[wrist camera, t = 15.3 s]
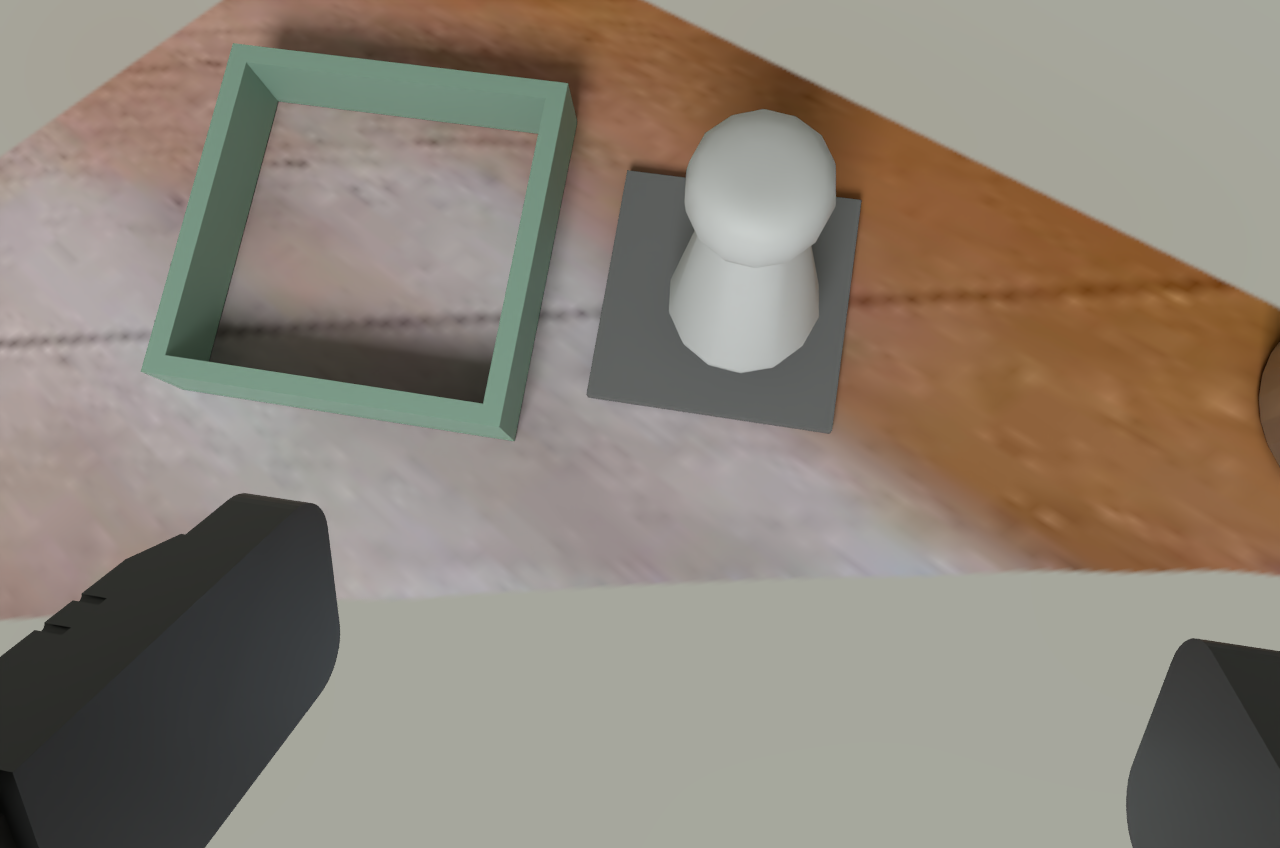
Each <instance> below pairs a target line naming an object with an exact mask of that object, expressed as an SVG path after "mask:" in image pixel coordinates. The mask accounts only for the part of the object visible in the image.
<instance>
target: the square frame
mask: <svg viewBox="0 0 1280 848" xmlns="http://www.w3.org/2000/svg"><path fill="white" fill-rule="evenodd" d="M278 101H280V102H288V103H296V104H304V105H312V106H320V107H328V108H336V109H344V110H352V111H360V112H368V113H376V114H384V115H392V116H400V117H408V118H416V119H424V120H432V121H440V122H448V123H456V124H464V125H473V126H481V127H489V128H497V129H505V130H513V131H521V132H529V133H537V134H538V138H537V142H536V147H535V152H534V157H533V162H532V167H531V172H530V177H529V181H528V186H527V191H526V196H525V201H524V206H523V211H522V216H521V221H520V225H519V230H518V235H517V240H516V245H515V250H514V255H513V260H512V264H511V269H510V274H509V279H508V284H507V289H506V294H505V299H504V304H503V308H502V313H501V318H500V323H499V328H498V333H497V338H496V343H495V347H494V352H493V357H492V362H491V367H490V372H489V377H488V382H487V387H486V391H485V396H484V401H483V404H482V403H475V402H469V401H462V400H456V399H449V398H443V397H436V396H430V395H423V394H416V393H410V392H403V391H397V390H390V389H384V388H377V387H371V386H364V385H358V384H351V383H344V382H338V381H331V380H325V379H318V378H312V377H305V376H299V375H292V374H286V373H279V372H272V371H266V370H259V369H253V368H246V367H240V366H233V365H227V364H220V363H214V362H209V359H210V355H211V351H212V348H213V344H214V340H215V336H216V333H217V329H218V325H219V321H220V318H221V314H222V310H223V306H224V303H225V299H226V295H227V291H228V288H229V284H230V280H231V276H232V273H233V269H234V265H235V261H236V258H237V254H238V250H239V246H240V243H241V239H242V235H243V231H244V228H245V224H246V220H247V216H248V213H249V209H250V205H251V201H252V198H253V194H254V190H255V186H256V183H257V179H258V175H259V171H260V168H261V164H262V160H263V156H264V153H265V149H266V145H267V141H268V138H269V134H270V130H271V126H272V123H273V119H274V115H275V111H276V108H277V104H278ZM576 126H577V119H576V114H575V110H574V106H573V102H572V98H571V93H570V89H569V85H568V83H562V82H554V81H545V80H537V79H528V78H520V77H511V76H503V75H495V74H486V73H478V72H469V71H461V70H453V69H444V68H436V67H427V66H419V65H411V64H402V63H394V62H385V61H377V60H369V59H360V58H352V57H343V56H335V55H327V54H318V53H310V52H301V51H293V50H284V49H276V48H268V47H259V46H251V45H242V44H234V43H233V45H232V49H231V52H230V56H229V59H228V63H227V67H226V70H225V74H224V77H223V81H222V84H221V88H220V92H219V95H218V99H217V102H216V106H215V109H214V113H213V116H212V120H211V124H210V127H209V131H208V134H207V138H206V141H205V145H204V148H203V152H202V156H201V159H200V163H199V166H198V170H197V173H196V177H195V181H194V184H193V188H192V191H191V195H190V198H189V202H188V205H187V209H186V213H185V216H184V220H183V223H182V227H181V230H180V234H179V237H178V241H177V245H176V248H175V252H174V255H173V259H172V262H171V266H170V269H169V273H168V277H167V280H166V284H165V287H164V291H163V294H162V298H161V302H160V305H159V309H158V312H157V316H156V319H155V323H154V326H153V330H152V334H151V337H150V341H149V344H148V348H147V351H146V355H145V358H144V362H143V366H142V369H141V372H143V373H146V374H148V375H150V376H153V377H155V378H157V379H160V380H162V381H164V382H167V383H169V384H171V385H174V386H176V387H178V388H181V389H183V390H189V391H196V392H202V393H209V394H215V395H222V396H228V397H234V398H241V399H247V400H254V401H260V402H266V403H273V404H279V405H286V406H292V407H298V408H305V409H311V410H318V411H324V412H330V413H337V414H343V415H350V416H356V417H362V418H369V419H375V420H382V421H388V422H394V423H401V424H407V425H414V426H420V427H426V428H433V429H439V430H446V431H452V432H458V433H465V434H471V435H478V436H484V437H490V438H497V439H503V440H510V441H515V436H516V431H517V426H518V421H519V416H520V411H521V406H522V401H523V396H524V391H525V385H526V380H527V375H528V370H529V365H530V360H531V355H532V350H533V345H534V340H535V334H536V329H537V324H538V319H539V314H540V309H541V304H542V299H543V294H544V289H545V284H546V278H547V273H548V268H549V263H550V258H551V253H552V248H553V243H554V238H555V233H556V228H557V222H558V217H559V212H560V207H561V202H562V197H563V192H564V187H565V182H566V177H567V172H568V166H569V161H570V156H571V151H572V146H573V141H574V136H575V131H576Z"/></svg>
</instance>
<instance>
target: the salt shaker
mask: <svg viewBox="0 0 1280 848" xmlns="http://www.w3.org/2000/svg"><path fill="white" fill-rule="evenodd" d="M684 202H685V210H686V213H687V215H688V217H689V219H690V221H691V224H692V226H693V228H694V230H695V231H694V233H693V235H692V237H691V239H690V241H689V243H688V245H687V247H686V249H685V251H684V253H683V255H682V257H681V259H680V262H679V264H678V266H677V268H676V270H675V272H674V274H673V276H672V278H671V281H670V300H669V313H670V316H671V318H672V320H673V322H674V324H675V327H676V329H677V331H678V333H679V336H680V338H681V340H682V342H683V344H684V345H685V346H686V347H687V348H689V349H690V350H691V351H692V352H693V353H695V354H696V355H697V356H698V357H699V358H700V359H702V360H703V361H704V362H705V363H706V364H708V365H710V366H714V367H717V368H721V369H725V370H729V371H733V372H737V373H745V372H751V371H757V370H762V369H768V368H773V367H775V366H776V365H777V364H779V363H780V362H782V361H783V360H784V359H786V358H787V357H788V356H790V355H791V354H792V353H794V352H795V351H796V350H798V349H799V348H800V347H802V346H803V344H804V342H805V341H806V339H807V337H808V335H809V334H810V332H811V330H812V328H813V326H814V325H815V323H816V321H817V319H818V318H819V284H818V279H817V273H816V268H815V262H814V257H813V251H812V246H811V245H813V244H814V243H816V241H817V239H818V237H819V235H820V234H821V232H822V230H823V228H824V226H825V225H826V223H827V221H828V219H829V218H830V216H831V214H832V212H833V210H834V208H835V206H836V164H835V162H834V159H833V157H832V155H831V153H830V151H829V149H828V147H827V145H826V143H825V141H824V139H823V137H822V135H820V134H819V133H818V132H816V131H815V130H813V129H812V128H811V127H809V126H808V125H807V124H805V123H804V122H803V121H801V120H800V119H799V118H797V117H796V116H791V115H787V114H783V113H779V112H775V111H770V110H766V109H761V110H756V111H751V112H746V113H741V114H736V115H732V116H730V117H729V118H727V119H726V120H724V121H723V122H721V123H720V124H718V125H717V126H715V127H714V128H712V129H711V130H709V131H708V132H706V133H705V135H704V136H703V138H702V140H701V142H700V143H699V145H698V147H697V149H696V151H695V152H694V154H693V156H692V158H691V159H690V162H689V165H688V167H687V170H686V185H685V201H684Z"/></svg>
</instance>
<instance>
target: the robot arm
mask: <svg viewBox="0 0 1280 848" xmlns="http://www.w3.org/2000/svg"><path fill="white" fill-rule="evenodd" d="M1259 406H1260V419H1261V424H1262V427H1263V431H1264V434H1265V437H1266V440H1267V444H1268V446H1269V448H1270V450H1271V452H1272V454H1273V455H1274V457H1275V459H1276V461H1277V463H1278V465H1279V466H1280V342H1279V343H1278V345H1277V346H1276V347H1275V349H1274V350H1273V351H1272V353H1271V355H1270V357H1269V359H1268V362H1267V364H1266V367H1265V369H1264V372H1263V374H1262V380H1261V386H1260V393H1259ZM339 642H340V624H339V616H338V608H337V599H336V591H335V583H334V575H333V567H332V558H331V550H330V542H329V534H328V526H327V521H326V518H325V515H324V513H323V511H322V510H321V509H320V508H319V506H317V505H315V504H312V503H306V502H300V501H293V500H287V499H280V498H273V497H267V496H260V495H253V494H247V493H243V494H238V495H236V496H233V497H232V498H230V499H229V500H228V501H226V502H225V503H224V504H223V505H221V506H220V507H219V508H218V509H216V510H215V511H214V512H213V513H212V514H210V515H209V516H208V517H207V518H205V519H204V520H203V521H202V522H200V523H199V524H198V525H197V526H196V527H194V528H193V529H192V530H191V531H189V532H188V533H187V534H186V535H184V534H180V535H178V536H176V537H173V538H171V539H169V540H167V541H165V542H162V543H160V544H158V545H156V546H154V547H152V548H149V549H147V550H145V551H143V552H141V553H139V554H136V555H134V556H132V557H130V558H128V559H126V560H124V561H123V562H122V563H120V564H119V565H118V566H117V567H115V568H114V569H113V570H111V571H110V572H109V573H108V574H106V575H105V576H104V577H102V578H101V579H100V580H99V581H97V582H96V583H95V584H93V585H92V586H91V587H90V588H88V589H87V590H86V591H84V592H83V593H82V597H81V600H80V601H79V602H78V601H72V602H70V603H69V604H68V605H66V606H65V607H64V608H63V609H61V610H60V611H59V612H57V613H56V614H55V615H54V616H52V617H51V618H50V619H48V620H47V621H46V622H45V626H44V628H43V630H42V631H36V630H34V631H33V632H32V633H30V634H29V635H28V636H27V637H25V638H24V639H23V640H21V641H20V642H19V643H18V644H16V645H15V646H14V647H12V648H11V649H10V650H9V651H7V652H6V653H5V654H3V655H2V656H1V657H0V848H205V847H206V845H207V844H208V843H209V841H210V840H211V839H212V837H213V836H214V835H215V833H216V832H217V831H218V829H219V828H220V827H221V825H222V824H223V823H224V821H225V820H226V819H227V817H228V816H229V815H230V813H231V812H232V811H233V809H234V808H235V807H236V805H237V804H238V803H239V801H240V800H241V799H242V797H243V796H244V795H245V793H246V792H247V791H248V789H249V788H250V787H251V785H252V784H253V782H254V781H255V780H256V779H257V777H258V776H259V775H260V773H261V772H262V771H263V769H264V768H265V767H266V765H267V764H268V763H269V761H270V760H271V759H272V757H273V756H274V755H275V753H276V752H277V751H278V749H279V748H280V747H281V745H282V744H283V743H284V741H285V740H286V739H287V737H288V736H289V735H290V733H291V732H292V731H293V730H294V728H295V727H296V726H297V724H298V723H299V721H300V720H301V719H302V717H303V716H304V715H305V713H306V712H307V711H308V710H309V708H310V707H311V706H312V704H313V703H314V702H315V700H316V699H317V697H318V696H319V695H320V693H321V692H322V691H323V689H324V688H325V686H326V684H327V682H328V680H329V678H330V676H331V673H332V671H333V668H334V665H335V662H336V658H337V654H338V649H339ZM1126 808H1127V809H1126V811H1127V823H1128V830H1129V835H1130V839H1131V843H1132V846H1133V848H1280V651H1274V650H1267V649H1261V648H1254V647H1248V646H1241V645H1234V644H1228V643H1221V642H1215V641H1208V640H1201V639H1194V638H1193V639H1189V640H1187V641H1185V642H1184V643H1183V644H1182V645H1181V646H1180V647H1179V648H1178V650H1177V651H1176V653H1175V655H1174V657H1173V660H1172V662H1171V664H1170V667H1169V670H1168V672H1167V675H1166V678H1165V680H1164V683H1163V686H1162V688H1161V691H1160V694H1159V696H1158V699H1157V701H1156V704H1155V707H1154V709H1153V712H1152V714H1151V717H1150V720H1149V723H1148V725H1147V728H1146V730H1145V733H1144V735H1143V738H1142V741H1141V743H1140V746H1139V749H1138V751H1137V754H1136V756H1135V759H1134V762H1133V765H1132V767H1131V771H1130V775H1129V779H1128V786H1127V797H1126Z"/></svg>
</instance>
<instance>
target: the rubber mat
mask: <svg viewBox="0 0 1280 848" xmlns="http://www.w3.org/2000/svg"><path fill="white" fill-rule="evenodd" d="M685 185H686V178H684V177H676V176H668V175H660V174H652V173H644V172H637V171H629V170H627V175H626V181H625V186H624V192H623V197H622V203H621V208H620V214H619V219H618V225H617V230H616V236H615V241H614V247H613V252H612V257H611V263H610V268H609V274H608V279H607V285H606V290H605V296H604V301H603V307H602V312H601V318H600V323H599V329H598V334H597V340H596V345H595V350H594V356H593V361H592V367H591V372H590V378H589V383H588V389H587V396H588V397H589V398H596V399H602V400H609V401H616V402H622V403H629V404H636V405H642V406H649V407H656V408H662V409H669V410H676V411H682V412H689V413H695V414H702V415H709V416H715V417H722V418H729V419H735V420H742V421H749V422H755V423H762V424H769V425H775V426H782V427H788V428H795V429H802V430H808V431H815V432H822V433H828V434H830V433H831V431H832V425H833V418H834V410H835V402H836V394H837V387H838V379H839V371H840V363H841V355H842V348H843V340H844V332H845V324H846V316H847V309H848V301H849V293H850V285H851V278H852V270H853V262H854V254H855V246H856V239H857V231H858V223H859V215H860V207H861V200H857V199H849V198H841V197H836V206H835V208H834V210H833V212H832V214H831V216H830V218H829V219H828V221H827V223H826V225H825V226H824V228H823V230H822V232H821V234H820V235H819V237H818V239H817V241H816V243H814V244H813V245H811V246H812V251H813V257H814V262H815V268H816V273H817V279H818V284H819V318H818V319H817V321H816V323H815V325H814V326H813V328H812V330H811V332H810V334H809V335H808V337H807V339H806V341H805V342H804V344H803V346H802V347H800V348H799V349H798V350H796V351H795V352H794V353H792V354H791V355H790V356H788V357H787V358H786V359H784V360H783V361H782V362H780V363H779V364H777V365H776V366H775V367H773V368H768V369H762V370H757V371H751V372H745V373H737V372H733V371H729V370H725V369H721V368H717V367H714V366H710V365H708V364H706V363H705V362H704V361H703V360H702V359H700V358H699V357H698V356H697V355H696V354H695V353H693V352H692V351H691V350H690V349H689V348H687V347H686V346H685V345H684V344H683V342H682V340H681V338H680V336H679V333H678V331H677V329H676V327H675V324H674V322H673V320H672V318H671V316H670V313H669V300H670V281H671V278H672V276H673V274H674V272H675V270H676V268H677V266H678V264H679V262H680V259H681V257H682V255H683V253H684V251H685V249H686V247H687V245H688V243H689V241H690V239H691V237H692V235H693V233H694V231H695V230H694V228H693V226H692V224H691V221H690V219H689V217H688V215H687V213H686V210H685V202H684V201H685Z"/></svg>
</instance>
